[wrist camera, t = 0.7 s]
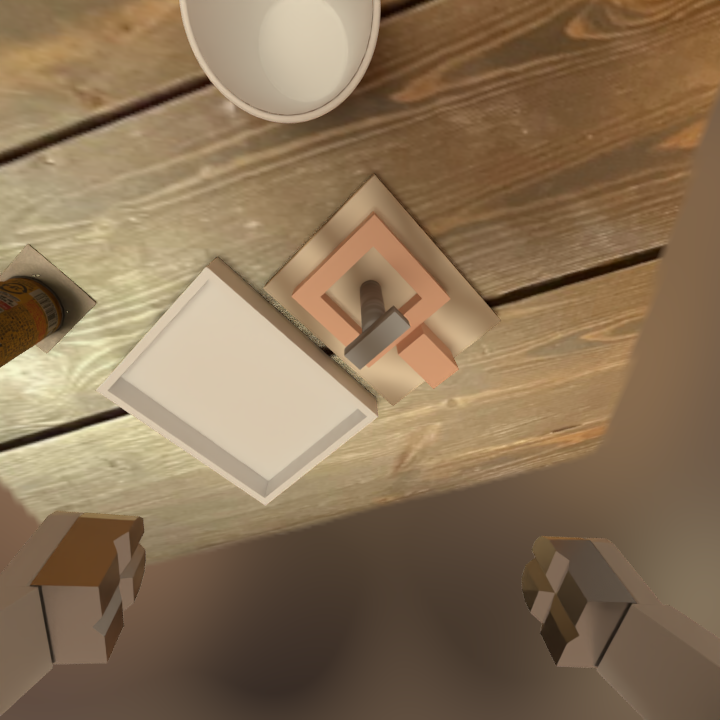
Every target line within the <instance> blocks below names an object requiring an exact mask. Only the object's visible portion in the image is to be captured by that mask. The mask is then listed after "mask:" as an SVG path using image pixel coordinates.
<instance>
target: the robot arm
mask: <svg viewBox="0 0 720 720" xmlns="http://www.w3.org/2000/svg"><path fill="white" fill-rule="evenodd" d="M143 534H144V522H143V518H141V517H140V516H128V515H115V514H101V513H88V512H85V513H79V512H67V511H55V512H54V513H52V514H50V515H49V516H48V517H47V518H46V519H45V520H44V521H43V523H42V524H41V525H40V526H39V527H38V529H37V530H36V531H35V532H34V534H33V535H32V536H31V538H30V539H29V540H28V541H27V542H26V543H25V545H24V546H23V547H22V548H21V550H20V551H19V552H18V553H17V555H16V556H15V557H14V558H13V560H12V561H11V562H10V564H9V565H8V566H7V567H6V568H5V569H4V571H3V572H2V573H1V574H0V716H1V715H2V714H3V713H4V712H5V711H6V710H8V708H10V707H11V706H12V705H13V704H14V703H15V702H16V701H17V700H18V699H19V698H21V697H22V696H23V695H24V694H25V693H26V692H27V691H28V690H29V689H30V688H31V687H32V686H33V685H35V684H36V683H37V682H38V681H39V680H40V679H41V678H42V677H43V676H44V675H45V674H47V673H48V672H49V671H50V670H51V669H52V668H53V665H52V664H90V663H107V662H108V660H109V658H110V656H111V654H112V651H113V649H114V647H115V645H116V642H117V640H118V638H119V635H120V633H121V631H122V629H123V627H124V621H123V611H124V610H125V609H127V608H128V607H129V606H130V605H132V604H133V603H134V601H135V599H136V597H137V594H138V592H139V590H140V587H141V583H142V579H143V576H144V572H145V563H146V551H145V549H144V548H143V547H142V546H141V545H140V543H139V542H140V540H141V538H142V536H143ZM532 551H533V553H534V556H535V558H534V559H533V560H531V561H530V562H529V563H528V564H527V565H525V568H524V572H523V574H522V592H523V596H524V600H525V603H526V605H527V607H528V609H529V611H530V613H531V614H532V615H533V616H535V617H536V618H537V619H538V620H539V621H540V622H542V626H541V631H540V634H541V636H542V638H543V640H544V642H545V644H546V646H547V648H548V651H549V652H550V655H551V657H552V659H553V661H554V663H555V665H556V666H560V667H584V668H597V669H596V670H597V672H598V673H599V674H600V675H601V676H602V677H603V678H604V679H605V680H606V681H607V682H608V683H609V684H610V685H611V686H612V687H613V688H614V689H615V690H616V691H617V692H618V693H619V694H620V695H621V696H622V697H623V698H624V699H625V700H626V701H627V702H628V703H629V704H630V705H631V706H632V707H633V708H634V709H635V711H637V712H638V714H640V716H642V717H643V719H644V720H720V638H718V637H717V636H715V635H714V634H712V633H711V632H709V631H708V630H706V629H705V628H703V627H702V626H700V625H699V624H697V623H696V622H694V621H693V620H691V619H690V618H688V617H687V616H685V615H684V614H682V613H681V612H679V611H678V610H676V609H675V608H673V607H672V606H670V605H663V604H662V603H661V602H660V601H659V599H658V598H657V597H656V596H655V594H654V593H653V592H652V591H651V589H650V588H649V587H648V586H647V584H646V583H645V582H644V581H643V579H642V578H641V577H640V576H639V575H638V573H637V572H636V571H635V570H634V568H633V567H632V566H631V565H630V563H629V562H628V561H627V560H626V558H625V557H624V556H623V555H622V553H621V552H620V551H619V550H618V548H617V547H616V546H615V545H614V544H613V543H612V542H610V541H609V540H607V539H604V538H573V537H546V536H540V537H539V538H538V539H537V540H536V541H535V543H534V545H533V548H532Z"/></svg>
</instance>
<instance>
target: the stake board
mask: <svg viewBox="0 0 720 720" xmlns="http://www.w3.org/2000/svg"><path fill="white" fill-rule="evenodd" d="M373 211H374V212H375V213H376V214H377V215H378V217H379V218H380V219H381V220H382V221H383V222H384V223H385V224H386V225H387V227H388V228H389V229H390V230H391V231H392V232H393V233H394V234H395V235H396V236H397V238H398V239H399V240H400V241H401V242H402V243H403V244H404V245H405V246H406V248H407V249H408V250H409V251H410V252H411V253H412V254H413V255H414V256H415V258H416V259H417V260H418V261H419V262H420V263H421V264H422V265H423V266H424V268H425V269H426V270H427V271H428V272H429V273H430V274H431V275H432V276H433V278H434V279H435V280H436V281H437V282H438V283H439V284H440V285H441V286H442V288H443V289H444V290H445V291H446V292H447V294H448V295H449V297H450V300H449V301H448V302H447V303H445V304H444V305H443V306H442V307H441V308H440V309H438V310H437V311H436V312H435V313H434V314H432V315H431V316H430V317H429V318H428V319H426V320H425V321H424V323H425V324H426V325H427V327H428V328H429V329H430V330H431V331H432V332H433V333H434V334H435V335H436V336H437V337H438V338H439V339H440V340H441V341H442V342H443V343H444V344H445V345H446V346H447V347H448V348H449V349H450V351H451V353H452V355H453V357H454V358H455V357H456V356H457V355H459V354H460V353H461V352H462V351H464V350H465V349H466V348H467V347H469V346H470V345H471V344H473V343H474V342H475V341H476V340H478V339H479V338H480V337H481V336H483V335H484V334H485V333H487V332H488V331H489V330H490V329H492V328H493V327H494V326H495V325H497V324H498V323H499V322H501V320H500V319H499V317H498V316H497V315H496V314H495V313H494V312H493V310H492V309H491V308H490V307H489V306H488V305H487V303H486V302H485V301H484V300H483V299H482V298H481V297H480V295H479V294H478V293H477V292H476V291H475V290H474V288H473V287H472V286H471V285H470V284H469V283H468V282H467V280H466V279H465V278H464V277H463V276H462V275H461V273H460V272H459V271H458V270H457V269H456V268H455V267H454V265H453V264H452V263H451V262H450V261H449V260H448V258H447V257H446V256H445V255H444V254H443V253H442V252H441V250H440V249H439V248H438V247H437V246H436V245H435V243H434V242H433V241H432V240H431V239H430V238H429V237H428V235H427V234H426V233H425V232H424V231H423V230H422V228H421V227H420V226H419V225H418V224H417V223H416V222H415V220H414V219H413V218H412V217H411V216H410V215H409V213H408V212H407V211H406V210H405V209H404V208H403V207H402V205H401V204H400V203H399V202H398V201H397V200H396V198H395V197H394V196H393V195H392V194H391V193H390V192H389V190H388V189H387V188H386V187H385V186H384V185H383V183H382V182H381V181H380V180H379V179H378V178H377V177H376V175H375V174H373V175H372V176H371V177H370V178H369V179H368V180H367V181H366V182H365V183H364V184H363V185H362V186H361V187H360V188H359V189H358V190H357V191H356V192H355V193H354V194H353V195H352V196H351V197H350V198H349V199H348V200H347V201H346V202H345V203H344V204H343V205H342V206H341V208H340V209H339V210H338V211H337V212H336V213H335V214H334V215H333V216H332V217H331V218H330V219H329V220H328V221H327V222H326V223H325V224H324V225H323V226H322V227H321V228H320V229H319V230H318V231H317V232H316V233H315V234H314V235H313V236H312V237H311V238H310V239H309V240H308V241H307V242H306V243H305V244H304V245H303V247H302V248H301V249H300V250H299V251H298V252H297V253H296V254H295V255H294V256H293V257H292V258H291V259H290V260H289V261H288V262H287V263H286V264H285V265H284V266H283V267H282V268H281V269H280V270H279V271H278V272H277V273H276V274H275V275H274V276H273V277H272V278H271V279H270V280H269V281H268V282H267V283H266V285H265V287H264V288H263V289H264V290H265V291H266V292H267V293H268V294H269V295H270V296H272V297H273V298H274V299H275V300H276V301H277V302H278V303H279V304H280V305H282V306H283V307H284V308H285V309H286V310H287V311H288V312H289V313H290V314H292V315H293V316H294V317H295V318H296V319H297V320H298V321H299V322H300V323H302V324H303V325H304V326H305V327H306V328H307V329H308V330H309V331H310V332H312V333H313V334H314V335H315V336H316V337H317V338H318V339H319V340H320V341H322V342H323V343H324V344H325V345H326V346H327V347H328V348H329V349H330V350H331V351H333V352H334V353H335V354H336V355H337V356H338V357H339V358H340V359H341V360H343V361H344V362H345V363H346V364H347V365H348V366H349V367H350V368H351V369H353V370H354V371H355V372H356V373H357V374H358V375H359V376H360V377H361V378H363V379H364V380H365V381H366V382H367V383H368V384H369V385H370V386H371V387H373V388H374V389H375V390H376V391H377V392H378V393H379V394H380V395H381V396H383V397H384V398H385V399H386V400H387V401H388V402H389V403H390V404H391V405H393V406H394V405H395V404H396V403H397V402H399V401H400V400H401V399H403V398H404V397H405V396H406V395H408V394H409V393H410V392H411V391H413V390H414V389H415V388H417V387H418V386H419V385H420V384H422V383H423V382H424V381H425V380H424V379H423V378H422V377H421V376H420V375H419V374H418V373H417V372H416V371H415V370H414V369H412V368H411V367H410V366H409V365H408V364H407V363H406V362H405V361H404V360H403V359H402V358H401V357H400V356H399V355H398V351H397V347H396V346H394V347H393V348H392V349H391V350H390V351H388V352H387V353H386V354H385V355H384V356H382V357H381V358H380V359H379V360H378V361H377V362H375V363H374V364H373V365H372V366H371V367H369V368H368V367H367V366H366V364H368V363H369V362H370V361H371V360H372V359H374V358H375V357H376V356H377V355H378V354H379V353H381V352H382V351H383V350H384V349H385V348H387V347H388V346H389V345H390V344H391V343H392V342H394V341H395V340H396V339H397V338H398V337H400V336H401V335H402V334H403V333H404V332H405V331H407V330H408V329H409V328H410V324H409V321H408V320H407V319H406V318H405V317H404V315H403V314H402V313H401V312H400V311H399V310H398V309H400V308H401V307H402V306H403V305H404V304H405V303H406V302H408V301H409V300H410V299H411V298H412V297H413V296H414V295H416V294H417V292H416V291H415V290H414V289H413V288H412V287H411V286H410V285H409V284H408V283H407V282H406V281H405V280H404V279H403V277H402V276H401V275H400V274H399V273H398V272H397V271H396V270H395V269H394V268H393V267H392V266H391V265H390V264H389V262H388V261H387V260H386V259H385V258H384V257H383V256H382V255H381V254H380V253H379V252H378V251H377V250H376V249H375V248H374V246H373V247H372V248H371V249H370V250H369V251H368V252H367V253H366V254H365V255H364V256H363V257H362V258H361V259H359V260H358V261H357V262H356V263H355V264H354V265H353V266H352V267H351V268H350V269H349V270H348V271H347V272H346V273H345V274H344V275H343V276H342V277H341V278H340V279H339V280H338V281H336V282H335V283H334V284H333V285H332V286H331V287H330V288H329V289H328V290H327V291H326V292H325V294H326V295H328V296H329V297H330V298H331V299H332V300H333V301H334V302H335V303H336V304H337V305H338V306H339V307H340V308H341V309H342V310H343V311H344V312H345V313H346V314H347V315H348V316H349V317H350V318H352V319H353V320H354V321H355V322H356V323H357V324H358V325H359V326H360V327H361V328H362V333H361V334H360V335H359V336H358V337H357V338H356V339H355V340H354V341H352V342H351V343H350V344H349V345H348V346H347V347H346V346H344V345H343V344H342V343H341V342H340V341H339V340H338V339H337V338H336V337H335V336H334V335H333V334H331V333H330V332H329V331H328V330H327V329H326V328H325V327H324V326H323V325H322V324H321V323H320V322H318V321H317V320H316V319H315V318H314V317H313V316H312V315H311V314H310V313H309V312H308V311H306V310H305V309H304V308H303V307H302V306H301V305H300V304H299V303H298V302H297V301H296V300H295V299H293V298H292V297H291V296H292V293H293V291H294V289H295V288H296V287H297V286H298V285H299V284H300V283H301V282H302V281H303V280H304V279H305V278H306V277H307V276H308V275H309V274H310V273H311V272H312V271H313V270H314V269H315V268H316V267H317V266H318V265H319V264H320V263H321V262H322V261H323V260H324V259H325V258H326V257H327V256H328V255H329V254H330V253H331V252H332V251H333V250H334V249H335V248H336V247H337V246H338V245H339V244H340V243H341V242H342V241H343V240H344V239H345V238H346V237H347V236H348V235H349V234H350V233H351V232H352V231H353V230H354V229H355V228H356V227H357V226H358V225H359V224H361V223H362V222H363V221H364V220H365V219H366V218H367V217H368V216H369V215H370V214H371V213H372V212H373Z"/></svg>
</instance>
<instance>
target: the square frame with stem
mask: <svg viewBox="0 0 720 720" xmlns="http://www.w3.org/2000/svg"><path fill="white" fill-rule="evenodd" d="M373 246H374V248H375V249H376V250H377V251H378V252H379V253H380V254H381V255H382V256H383V257H384V258H385V259H386V260H387V261H388V262H389V264H390V265H391V266H392V267H393V268H394V269H395V270H396V271H397V272H398V273H399V274H400V275H401V276H402V277H403V279H404V280H405V281H406V282H407V283H408V284H409V285H410V286H411V287H412V288H413V289H414V290H415V291H416V292H417V294H416V295H414V296H413V297H412V298H411V299H410V300H409V301H408V302H406V303H405V304H404V305H403V306H402V307H401V308H400V309H398V310H399V311H400V312H401V313H402V314H403V315H404V317H405V318H406V319H407V320H408V321H409V324H410V328H409V329H408V330H407V331H405V332H404V333H403V334H402V335H401V336H400V337H398V338H397V339H396V340H395V341H394V342H392V343H391V344H390V345H389V346H388V347H387V348H385V349H384V350H383V351H382V352H381V353H379V354H378V355H377V356H376V357H375V358H374V359H372V360H371V361H370V362H369V363H368V364H366V366H367V367H368V368H369V367H371V366H372V365H373V364H374V363H375V362H377V361H378V360H379V359H380V358H381V357H382V356H384V355H385V354H386V353H387V352H388V351H390V350H391V349H392V348H393V347H394V346H396V347H397V351H398V355H399V356H400V357H401V358H402V359H403V360H404V361H405V362H406V363H407V364H408V365H409V366H410V367H411V368H412V369H414V370H415V371H416V372H417V373H418V374H419V375H420V376H421V377H422V378H423V379H424V380H425V381H426V382H427V383H428V384H429V385H430V386H431V387H432V388H433V389H434V388H435V387H437V386H438V385H439V384H440V383H442V382H443V381H444V380H446V379H447V378H448V377H449V376H451V375H452V374H453V373H455V372H456V371H457V370H459V368H458V366H457V364H456V362H455V360H454V357H453V355H452V353H451V351H450V349H449V348H448V347H447V346H446V345H445V344H444V343H443V342H442V341H441V340H440V339H439V338H438V337H437V336H436V335H435V334H434V333H433V332H432V331H431V330H430V329H429V328H428V327H427V325H426V324H425V323H424V321H425V320H426V319H428V318H429V317H430V316H431V315H432V314H434V313H435V312H436V311H437V310H438V309H440V308H441V307H442V306H443V305H444V304H445V303H447V302H448V301H449V300H450V297H449V295H448V294H447V292H446V291H445V290H444V289H443V288H442V286H441V285H440V284H439V283H438V282H437V281H436V280H435V279H434V278H433V276H432V275H431V274H430V273H429V272H428V271H427V270H426V269H425V268H424V266H423V265H422V264H421V263H420V262H419V261H418V260H417V259H416V258H415V256H414V255H413V254H412V253H411V252H410V251H409V250H408V249H407V248H406V246H405V245H404V244H403V243H402V242H401V241H400V240H399V239H398V238H397V236H396V235H395V234H394V233H393V232H392V231H391V230H390V229H389V228H388V227H387V225H386V224H385V223H384V222H383V221H382V220H381V219H380V218H379V217H378V215H377V214H376V213H375V212H374V211H373V212H372V213H371V214H370V215H369V216H368V217H367V218H366V219H365V220H364V221H363V222H362V223H361V224H359V225H358V226H357V227H356V228H355V229H354V230H353V231H352V232H351V233H350V234H349V235H348V236H347V237H346V238H345V239H344V240H343V241H342V242H341V243H340V244H339V245H338V246H337V247H336V248H335V249H334V250H333V251H332V252H331V253H330V254H329V255H328V256H327V257H326V258H325V259H324V260H323V261H322V262H321V263H320V264H319V265H318V266H317V267H316V268H315V269H314V270H313V271H312V272H311V273H310V274H309V275H308V276H307V277H306V278H305V279H304V280H303V281H302V282H301V283H300V284H299V285H298V286H297V287H296V288H295V289H294V291H293V293H292V296H291V297H292V298H293V299H295V300H296V301H297V302H298V303H299V304H300V305H301V306H302V307H303V308H304V309H305V310H306V311H308V312H309V313H310V314H311V315H312V316H313V317H314V318H315V319H316V320H317V321H318V322H320V323H321V324H322V325H323V326H324V327H325V328H326V329H327V330H328V331H329V332H330V333H331V334H333V335H334V336H335V337H336V338H337V339H338V340H339V341H340V342H341V343H342V344H343V345H344V346H346V347H347V346H348V345H349V344H350V343H351V342H352V341H354V340H355V339H356V338H357V337H358V336H359V335H360V334H361V333H362V328H361V327H360V326H359V325H358V324H357V323H356V322H355V321H354V320H353V319H352V318H350V317H349V316H348V315H347V314H346V313H345V312H344V311H343V310H342V309H341V308H340V307H339V306H338V305H337V304H336V303H335V302H334V301H333V300H332V299H331V298H330V297H329V296H328V295H326V294H325V292H326V291H327V290H328V289H329V288H330V287H331V286H332V285H333V284H334V283H335V282H336V281H338V280H339V279H340V278H341V277H342V276H343V275H344V274H345V273H346V272H347V271H348V270H349V269H350V268H351V267H352V266H353V265H354V264H355V263H356V262H357V261H358V260H359V259H361V258H362V257H363V256H364V255H365V254H366V253H367V252H368V251H369V250H370V249H371V248H372V247H373Z"/></svg>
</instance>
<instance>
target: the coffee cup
mask: <svg viewBox="0 0 720 720" xmlns="http://www.w3.org/2000/svg"><path fill="white" fill-rule="evenodd" d="M179 2H180V10H181V15H182V20H183V24H184V28H185V32H186V35H187V38H188V41H189V43H190V46H191V48H192V50H193V53H194V55H195V57H196V59H197V61H198V62H199V64H200V66H201V68H202V69H203V71H204V72H205V74H206V75H207V77H208V78H209V79H210V81H211V82H212V83H213V84H214V86H215V87H216V88H217V89H218V90H219V91H220V92H221V93H222V94H223V95H224V96H225V97H226V98H227V99H228V100H230V101H231V102H232V103H233V104H235V105H236V106H237V107H239V108H241V109H242V110H244V111H246V112H247V113H249V114H251V115H253V116H256V117H258V118H261V119H264V120H268V121H272V122H278V123H300V122H305V121H309V120H312V119H315V118H318V117H320V116H322V115H324V114H326V113H328V112H330V111H331V110H333V109H334V108H336V107H337V106H338V105H340V104H341V103H342V102H343V101H344V100H345V99H346V98H347V97H348V96H349V95H350V94H351V93H352V92H353V91H354V89H355V88H356V87H357V85H358V84H359V82H360V81H361V79H362V78H363V76H364V74H365V72H366V70H367V68H368V66H369V64H370V61H371V59H372V56H373V53H374V50H375V46H376V43H377V38H378V33H379V26H380V13H381V1H380V0H373V4H372V0H179ZM372 15H373V20H372ZM197 43H198V44H197ZM366 49H367V50H366ZM207 63H208V64H207ZM216 76H217V77H218V78H217V77H216ZM221 82H222V83H221ZM228 89H229V90H230V91H231V92H230V91H229V90H228ZM235 95H236V96H237V97H236V96H235ZM240 99H241V100H240ZM242 100H243V101H244V102H243V101H242ZM250 105H251V106H250ZM252 106H253V107H252ZM268 112H269V113H268ZM272 113H274V114H272ZM277 114H279V115H277Z"/></svg>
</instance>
